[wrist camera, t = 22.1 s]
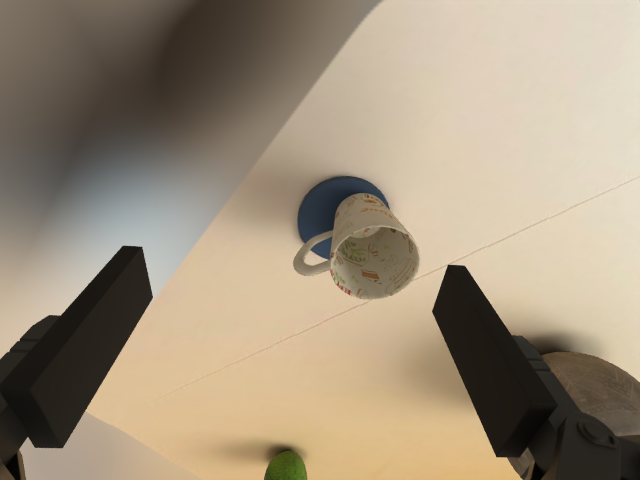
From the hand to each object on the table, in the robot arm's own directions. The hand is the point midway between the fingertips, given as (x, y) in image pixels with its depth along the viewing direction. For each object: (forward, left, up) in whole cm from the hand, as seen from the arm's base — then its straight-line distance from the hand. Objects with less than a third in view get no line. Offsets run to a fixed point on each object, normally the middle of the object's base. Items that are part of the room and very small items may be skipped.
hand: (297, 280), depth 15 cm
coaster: (+10, +3, -24) cm, 27 cm away
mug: (+10, +3, -24) cm, 26 cm away
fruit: (+59, -16, -25) cm, 66 cm away
